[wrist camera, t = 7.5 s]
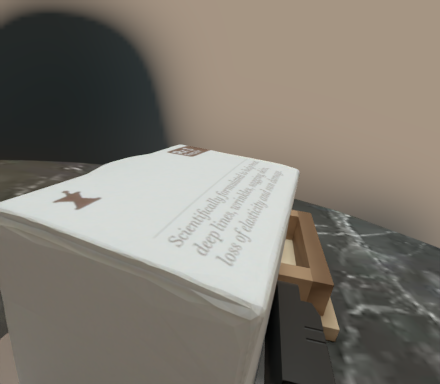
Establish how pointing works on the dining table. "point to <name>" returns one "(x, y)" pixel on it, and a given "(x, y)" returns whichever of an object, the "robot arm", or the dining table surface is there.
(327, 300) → the socket board
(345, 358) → the dining table surface
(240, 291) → the skincare box
